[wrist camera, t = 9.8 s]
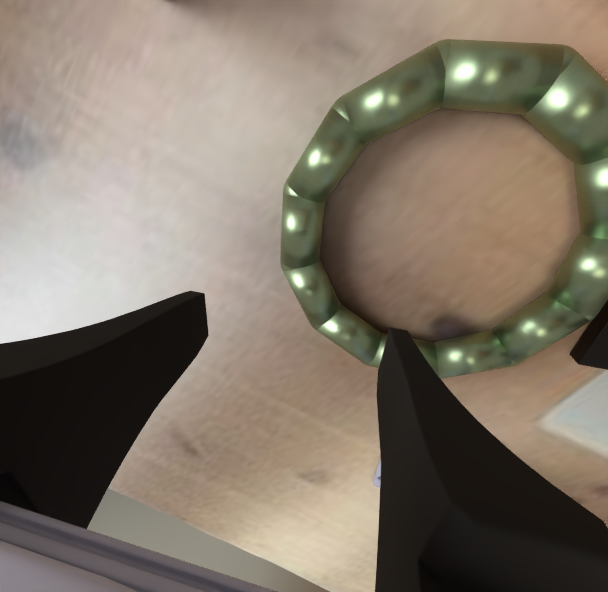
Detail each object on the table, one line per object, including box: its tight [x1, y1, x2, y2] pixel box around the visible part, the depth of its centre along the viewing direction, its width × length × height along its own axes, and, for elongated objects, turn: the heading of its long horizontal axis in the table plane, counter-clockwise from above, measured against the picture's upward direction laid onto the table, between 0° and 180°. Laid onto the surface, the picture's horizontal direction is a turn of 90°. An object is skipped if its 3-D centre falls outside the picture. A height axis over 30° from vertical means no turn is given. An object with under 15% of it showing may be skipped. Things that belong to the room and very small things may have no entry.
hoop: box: [280, 39, 608, 379], centre depth 17 cm, size 18×18×2 cm
